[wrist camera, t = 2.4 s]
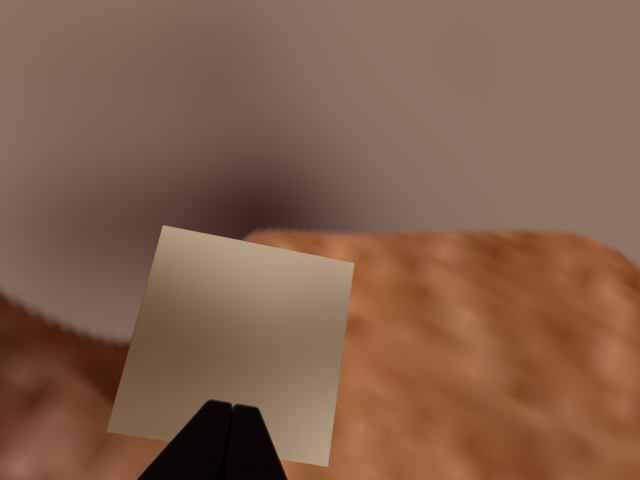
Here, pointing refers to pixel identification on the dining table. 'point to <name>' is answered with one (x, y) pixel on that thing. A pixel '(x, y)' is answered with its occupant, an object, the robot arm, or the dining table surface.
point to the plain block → (237, 341)
